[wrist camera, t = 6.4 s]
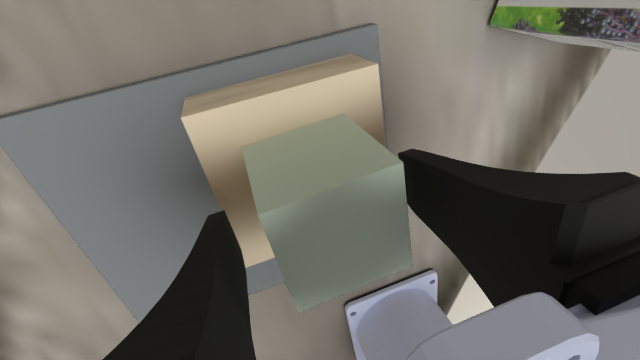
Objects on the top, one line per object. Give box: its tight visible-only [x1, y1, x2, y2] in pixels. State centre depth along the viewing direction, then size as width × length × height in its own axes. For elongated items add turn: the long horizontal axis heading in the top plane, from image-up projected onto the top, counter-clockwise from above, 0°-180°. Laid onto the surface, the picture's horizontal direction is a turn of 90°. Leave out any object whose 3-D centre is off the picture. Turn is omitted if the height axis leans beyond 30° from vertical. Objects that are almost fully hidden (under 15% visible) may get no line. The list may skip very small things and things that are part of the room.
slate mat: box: [0, 23, 387, 323], centre depth 18 cm, size 14×17×1 cm
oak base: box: [181, 54, 385, 268], centre depth 16 cm, size 8×8×3 cm
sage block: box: [241, 113, 413, 313], centre depth 13 cm, size 4×4×5 cm
